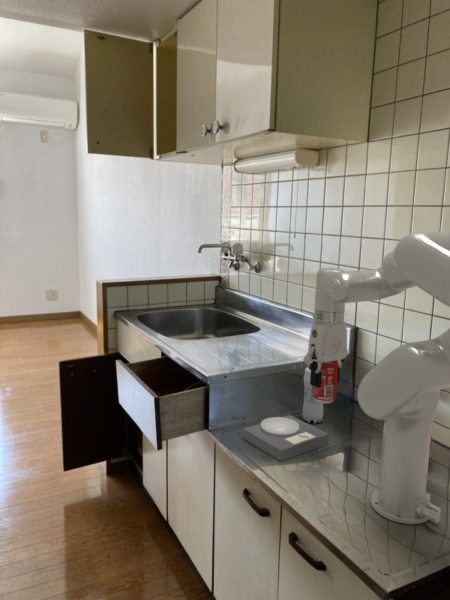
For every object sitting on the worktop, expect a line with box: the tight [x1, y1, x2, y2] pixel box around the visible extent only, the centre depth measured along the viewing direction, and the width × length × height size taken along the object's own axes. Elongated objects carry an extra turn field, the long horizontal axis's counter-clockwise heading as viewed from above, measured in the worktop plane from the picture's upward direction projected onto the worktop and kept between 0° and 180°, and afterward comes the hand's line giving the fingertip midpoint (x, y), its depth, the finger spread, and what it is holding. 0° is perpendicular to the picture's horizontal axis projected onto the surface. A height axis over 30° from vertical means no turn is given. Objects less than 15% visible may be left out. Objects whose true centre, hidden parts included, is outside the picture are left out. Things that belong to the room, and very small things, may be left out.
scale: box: [242, 414, 330, 462], centre depth 135 cm, size 16×18×4 cm
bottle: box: [302, 359, 324, 424], centre depth 148 cm, size 7×7×20 cm
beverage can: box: [312, 361, 338, 404], centre depth 125 cm, size 6×6×12 cm
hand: (324, 383), depth 125 cm, fingers closed on beverage can, 6 cm apart
